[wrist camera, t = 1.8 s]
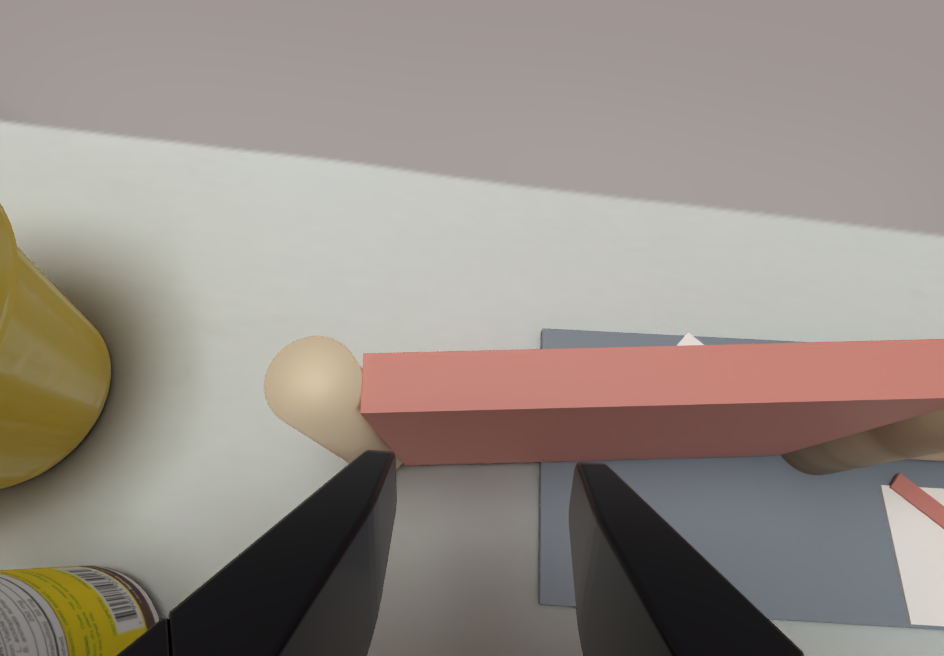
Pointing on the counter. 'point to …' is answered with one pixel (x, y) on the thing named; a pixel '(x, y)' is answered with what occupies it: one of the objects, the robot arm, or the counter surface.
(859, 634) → the counter surface
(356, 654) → the robot arm
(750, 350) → the fence gate
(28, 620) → the supplement bottle
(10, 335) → the plant pot
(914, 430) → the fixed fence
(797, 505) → the board
